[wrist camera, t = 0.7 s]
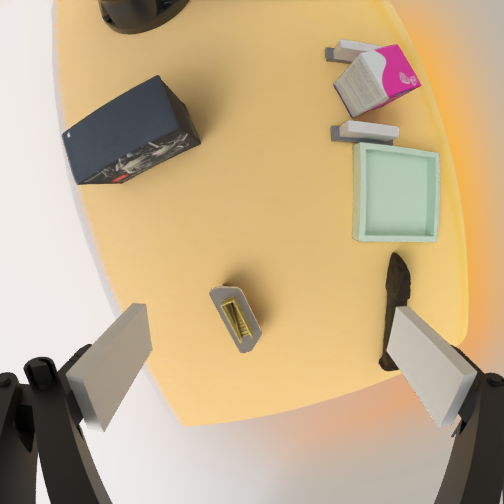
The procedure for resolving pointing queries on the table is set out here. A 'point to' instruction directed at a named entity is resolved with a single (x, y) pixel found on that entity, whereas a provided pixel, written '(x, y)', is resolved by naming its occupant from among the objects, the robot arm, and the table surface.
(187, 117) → the small box
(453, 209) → the table surface
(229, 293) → the platform
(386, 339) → the hand tool
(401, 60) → the supplement box
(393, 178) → the parts tray
